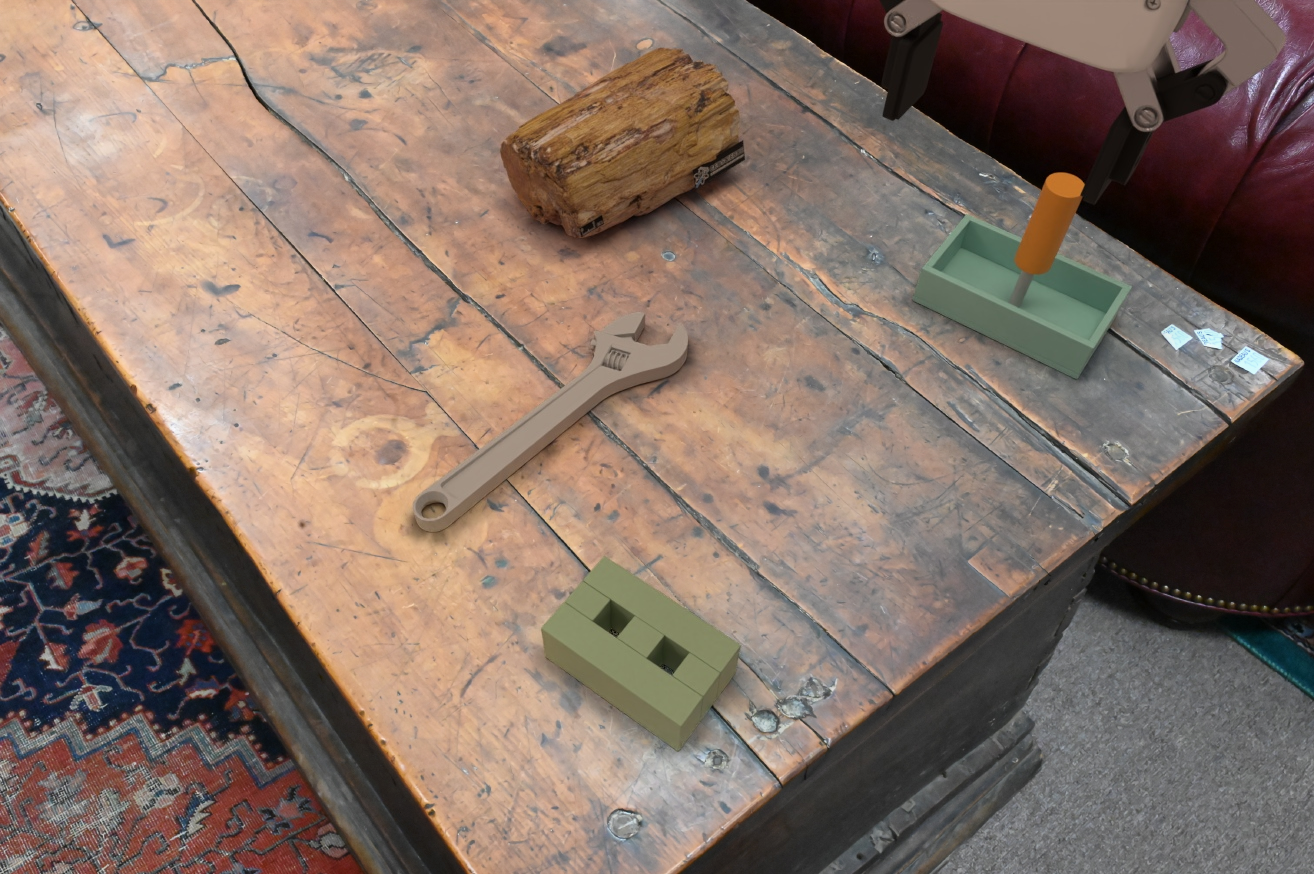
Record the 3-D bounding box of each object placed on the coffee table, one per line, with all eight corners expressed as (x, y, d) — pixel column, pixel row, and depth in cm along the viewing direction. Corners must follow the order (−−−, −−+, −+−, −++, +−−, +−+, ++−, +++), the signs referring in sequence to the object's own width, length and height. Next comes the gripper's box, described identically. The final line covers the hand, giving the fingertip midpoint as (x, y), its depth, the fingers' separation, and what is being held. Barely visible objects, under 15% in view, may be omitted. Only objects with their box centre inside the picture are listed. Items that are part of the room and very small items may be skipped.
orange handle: (1038, 301, 82) (1091, 182, 73) (1024, 321, 81) (1076, 202, 71) (1006, 286, 83) (1054, 167, 74) (991, 306, 82) (1039, 187, 72)
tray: (955, 246, 87) (966, 213, 84) (1115, 318, 82) (1132, 286, 79) (911, 300, 83) (921, 268, 80) (1076, 380, 78) (1093, 348, 75)
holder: (605, 586, 66) (604, 555, 63) (735, 672, 63) (741, 644, 60) (544, 656, 63) (540, 627, 60) (678, 752, 60) (681, 726, 56)
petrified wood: (586, 272, 83) (560, 164, 76) (499, 219, 91) (468, 117, 84) (754, 168, 91) (744, 61, 84) (659, 128, 99) (643, 27, 92)
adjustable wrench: (432, 541, 68) (427, 528, 67) (379, 483, 71) (374, 468, 70) (700, 356, 78) (701, 341, 77) (645, 312, 81) (645, 296, 80)
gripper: (1463, -268, 31) (1211, 177, 45) (957, -380, 37) (870, 43, 51) (1411, -188, 28) (1154, 270, 41) (858, -327, 34) (792, 114, 47)
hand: (997, 144), depth 46 cm, fingers open, 9 cm apart
